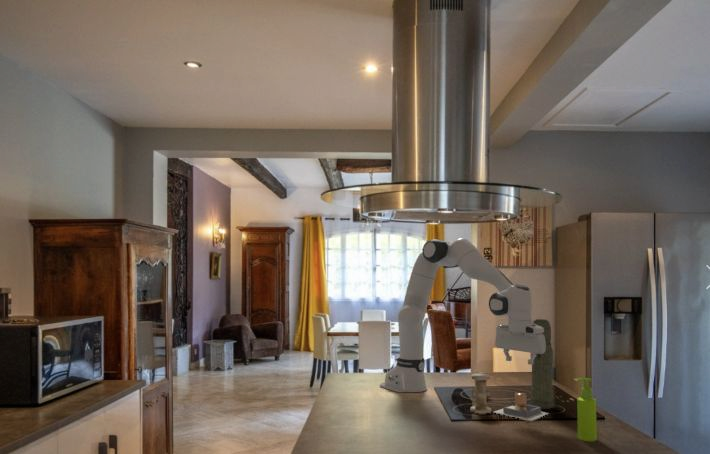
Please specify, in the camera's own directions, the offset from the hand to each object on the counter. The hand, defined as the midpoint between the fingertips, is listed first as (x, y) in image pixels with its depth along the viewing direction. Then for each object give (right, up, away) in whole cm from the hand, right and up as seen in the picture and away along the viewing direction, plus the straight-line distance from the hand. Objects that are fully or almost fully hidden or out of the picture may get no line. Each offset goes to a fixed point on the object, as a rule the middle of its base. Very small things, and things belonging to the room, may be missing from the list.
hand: (519, 362), depth 229 cm
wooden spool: (-14, -20, +3) cm, 25 cm away
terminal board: (0, -20, -1) cm, 20 cm away
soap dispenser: (+13, -18, -32) cm, 39 cm away
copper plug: (0, -19, -1) cm, 19 cm away
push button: (-8, -21, +29) cm, 37 cm away
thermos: (+12, -21, +11) cm, 26 cm away
